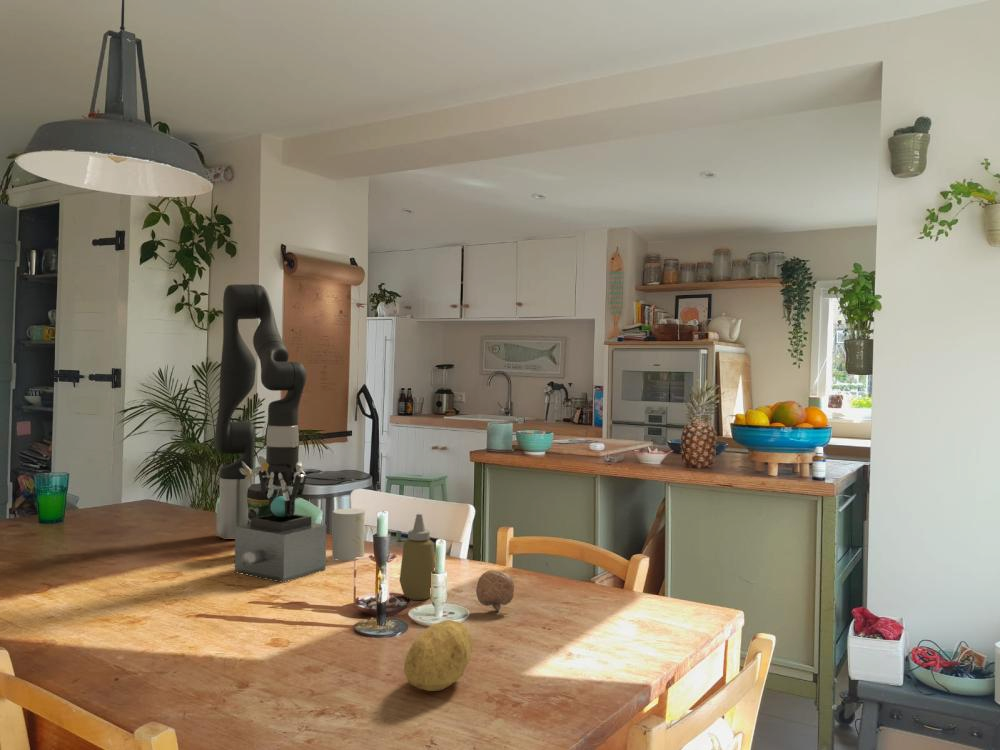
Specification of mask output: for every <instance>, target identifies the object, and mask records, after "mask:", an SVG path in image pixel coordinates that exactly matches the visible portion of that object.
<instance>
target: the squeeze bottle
mask: <svg viewBox="0 0 1000 750" xmlns="http://www.w3.org/2000/svg"><path fill="white" fill-rule="evenodd" d="M407 532H408V533H407V535H408V536H407V538H408V539H407V540H406V541H404V542H403V546H402V547H403V549H402V556H401V565H400V573H399V584H400V586H401V591H402V594H403V596H405V597H407V598H406V599H408V598H409V599H408V600H414V601H421V600H427V599H430V598H431V597H430V588H431V572H433V571H434V568H435V566H436V554H435V544H434V542H433V540H431V539H430V536H431V535H430V534H431V533H430V530H428V529H425V523H424V517H423V514H422V513H417V514H416V515H415V521H414V524H413V529H409V530H408V531H407ZM405 597H404V598H405Z"/></svg>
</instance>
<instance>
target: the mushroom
mask: <svg viewBox="0 0 1000 750" xmlns="http://www.w3.org/2000/svg"><path fill="white" fill-rule="evenodd" d="M475 589H476V590H475V591H476V598H477V600H478V601H479V603H480V604H481V605H483V606H486V607H490V606H492V608H493V609H494V610H495V611H496V612H498V611H501V605H502V606H506V605H508V604H510V603H511V602H512V600H513V598H514V591H515V583H514V580H513V577H511V575H510V574H508V573H507V572H503V571H500V570H497V569H496V570H493V569H489V570H486V571H485V572H483V573H482V574H481V575H480V577H479V578H478V581H477V584H476V588H475Z"/></svg>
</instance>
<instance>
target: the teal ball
mask: <svg viewBox="0 0 1000 750" xmlns="http://www.w3.org/2000/svg"><path fill="white" fill-rule="evenodd" d="M285 501H287V500H286V498H285V495H283V496H279V497H276V498H275V499H274V500H273V501H272V503H271V511H272V513H273V514H274V515H275V516H277V517H284V516H285Z"/></svg>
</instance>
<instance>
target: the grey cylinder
mask: <svg viewBox="0 0 1000 750" xmlns="http://www.w3.org/2000/svg"><path fill="white" fill-rule="evenodd" d="M365 515H366V512H365V510H364V509H362V508H351V507H350V508H348V507H347V508H339V509H335V510H332V545H331V547H332V548H331V549H332V552H331V553H332V557H331V558H332V559H333V558H334V560H335V559H338V560H337V561H340V560H353V561H355V560H354V559H355V558H356V557H363V556H364V557H365V521H366V519H365Z"/></svg>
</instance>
